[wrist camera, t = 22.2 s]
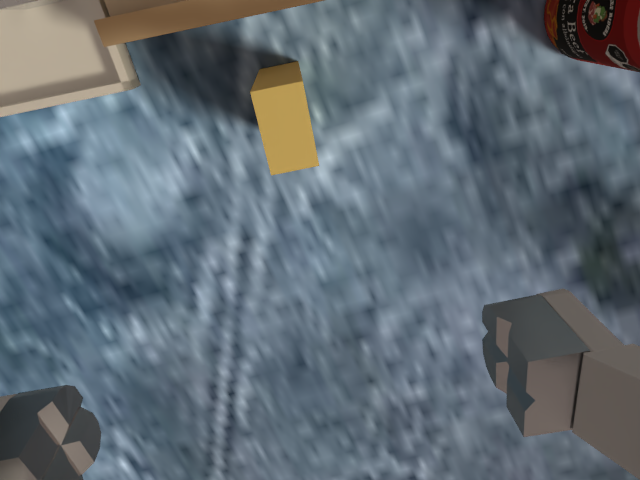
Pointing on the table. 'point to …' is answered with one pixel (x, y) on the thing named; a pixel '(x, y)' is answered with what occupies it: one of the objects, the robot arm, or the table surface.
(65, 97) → the tray
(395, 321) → the table surface
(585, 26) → the canned food
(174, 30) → the open wooden box
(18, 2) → the grey cubic block
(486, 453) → the table surface
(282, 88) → the block
